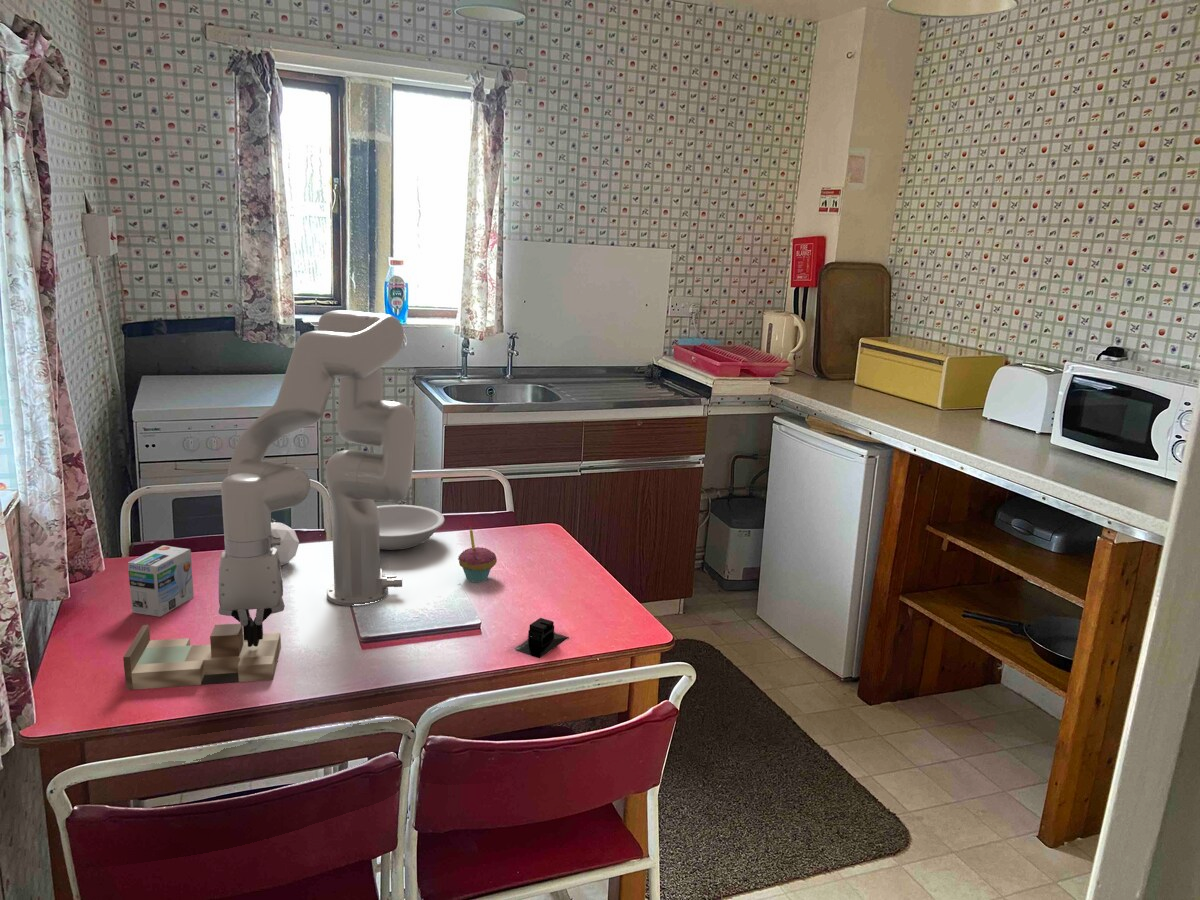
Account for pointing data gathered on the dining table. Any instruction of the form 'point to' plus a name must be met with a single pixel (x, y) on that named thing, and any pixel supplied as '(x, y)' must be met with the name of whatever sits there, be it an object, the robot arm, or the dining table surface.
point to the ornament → (285, 541)
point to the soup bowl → (407, 525)
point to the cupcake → (477, 562)
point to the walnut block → (226, 640)
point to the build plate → (541, 639)
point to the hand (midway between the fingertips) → (253, 643)
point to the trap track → (195, 662)
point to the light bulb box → (160, 580)
